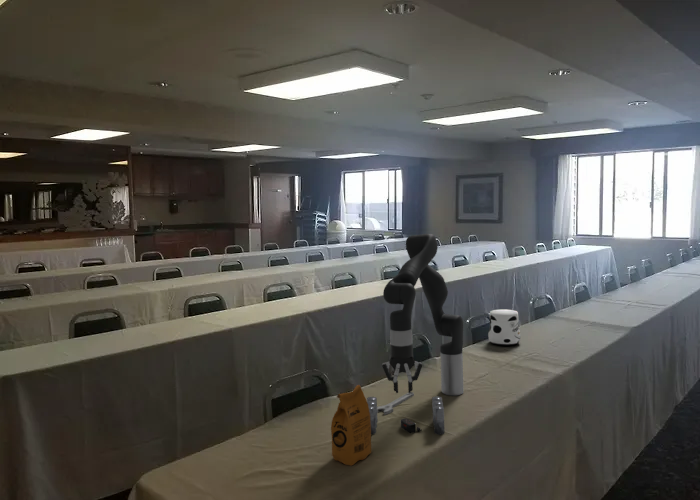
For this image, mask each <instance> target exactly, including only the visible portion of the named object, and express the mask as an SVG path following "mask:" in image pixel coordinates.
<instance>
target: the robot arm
mask: <svg viewBox="0 0 700 500" xmlns="http://www.w3.org/2000/svg"><path fill="white" fill-rule="evenodd" d="M438 247H439V245H438V241H437V238H436V236H435V235H434V234H432V233H422V234H415V235H413V234H412V235H409V236H408V237H407V238H406V240H405V249H406V252H407V254H408V257H409V260H407V261H405V263H404V264H403V265H402V266H401V267H400V269H399V271H398V273H397V275H395V276H394V277H393V278H391V279H390V280H389V281H388V282H387V283H386V285H385V286H384V289H383V295H382V296H383V299H384V300H385V302H386V303H387V304H390V305H403V307H402V308H401V309H399V310H394V311H392V312H390V314H389V326H390V327H389V328H390V332H389V344H390V347H389V348H390V358H389V360H388V361H386V362H382V365H381V366H382V369H383V371H384V374H385V376H386V378H387V380H388V381H390V382H392V383H393V391H394V392H395V394H398V393H399V380H398V377H399V374H400V373H405V374H406V376H407V385H408V386H407V388H408V392H409V393H411V392H413V382H414V381H417V380H418V379H419V376H420V374H421V370H422V367H423V362H422V361H416V360H415V357H414V344H413V342H414V340H413V338H414V337H413V332H412V331H413V330H412V313H413V307H414V303H415V299H416V296H417V295H416V294H417V291H416V288H415V287H416V284H417V282H418V280H419V282H420V284H421V288H422V290H423V293H424V296H425V298H426V301H427V303H428V306H429V309H430V313H431V316H432V320H433V324H434V328H435V331H436V332H437V334H438V335H439V336H443V337H449V338H451V341H449V342H445V343H442V344H441V345H440V348H439V349H440V350H439V351H440V353H439V354H440V381H441V382H440V384H441V385H440V386H441V393H442V394H443V395H447V396H459V395H462V394H464V361H463V359H464V358H463V357H464V356H463V346H464V321H463V318H462V316H461V315H460V314H459V315H458V314H447V313H445V312H444V310H443V307H444V304H445V302H446V300H447V297H448V294H449V291H448V287H447V284H446V281H445V278H444V277H443V276H442V274H441V273H439V271H437V270H436V269H435V268H433V267H432V266H431V265H430V263H431V262H432V261H433V259H434V257H436V254H437V252H438ZM390 366H391V368H393V370H394V374H393V375H392V374H391V372H390ZM413 367H415V372H414V375H412V373H411V369H413ZM408 392H407V393H408Z"/></svg>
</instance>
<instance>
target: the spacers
mask: <svg viewBox="0 0 700 500" xmlns="http://www.w3.org/2000/svg"><path fill="white" fill-rule="evenodd" d="M431 399H432V400H431V401H432V403H431V406H432V423H433V424H432V425H433V432H434V434H435V435H437V436H438V435H439V436H441V435H442V436H443V435H444V434H445V433H446V432H445V408H444V402H443V397H442V396H433V397H432V398H431ZM366 401H367V403H368V407H369V413H370V423H371V435H375V434H376V433H377V427H378V424H377V423H378V422H379V421H378V413H377V407H378V400H377V397H376V396H367V398H366Z"/></svg>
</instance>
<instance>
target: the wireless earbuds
mask: <svg viewBox="0 0 700 500" xmlns="http://www.w3.org/2000/svg"><path fill="white" fill-rule="evenodd" d="M416 425H417V424H416V422H414V421H413V420H411V419H409V418H406V417H405V418H401V419H400V428H401V429H402V430H403V431H406V432H407V434H414V433H416V432H418V433H419V432H423V430H422V429H421V427H420V426H416Z"/></svg>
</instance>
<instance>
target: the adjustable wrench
mask: <svg viewBox="0 0 700 500" xmlns="http://www.w3.org/2000/svg"><path fill="white" fill-rule="evenodd" d="M414 396H415V392H413V391H411V393H409V392H407V393H405V394H403V395H401V396H399V397H398V398H396V399H394V400H393V401H391V402H389V403H387V404H384V405H383V404H382V405H378V406H377V414H378V413H380V412H383V415H384V416H386V415H389V414H391V413H393V412H394V408H395V407H397V406H399V405H400V404H402V403H403V402H404V403H405V402H406V401H407V400H409V399H411V398H412V397H414Z"/></svg>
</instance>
